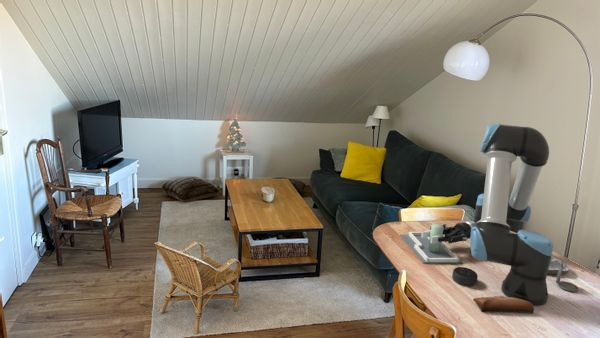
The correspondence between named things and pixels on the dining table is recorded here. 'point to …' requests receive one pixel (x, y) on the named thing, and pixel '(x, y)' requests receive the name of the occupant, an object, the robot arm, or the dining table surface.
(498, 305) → the sunglasses case
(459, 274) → the smart speaker
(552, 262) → the brain slice
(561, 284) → the grey disc stand
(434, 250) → the sage post
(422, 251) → the keyhole track
